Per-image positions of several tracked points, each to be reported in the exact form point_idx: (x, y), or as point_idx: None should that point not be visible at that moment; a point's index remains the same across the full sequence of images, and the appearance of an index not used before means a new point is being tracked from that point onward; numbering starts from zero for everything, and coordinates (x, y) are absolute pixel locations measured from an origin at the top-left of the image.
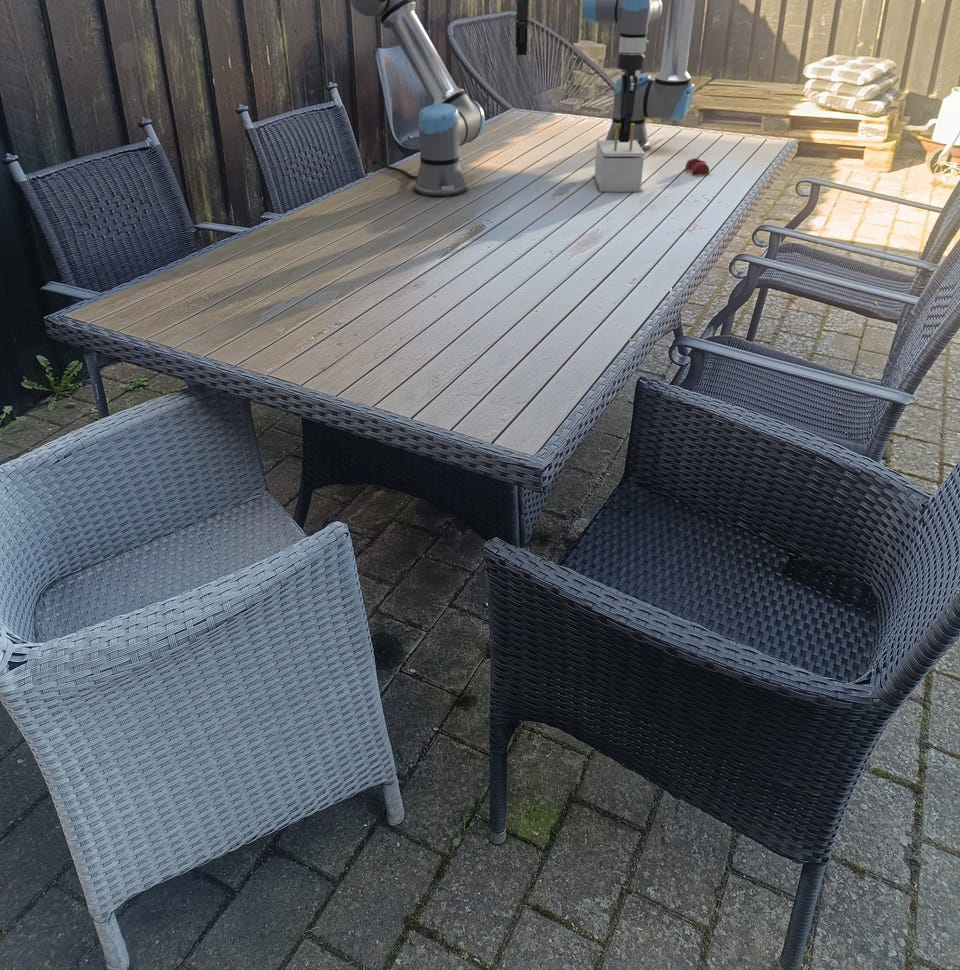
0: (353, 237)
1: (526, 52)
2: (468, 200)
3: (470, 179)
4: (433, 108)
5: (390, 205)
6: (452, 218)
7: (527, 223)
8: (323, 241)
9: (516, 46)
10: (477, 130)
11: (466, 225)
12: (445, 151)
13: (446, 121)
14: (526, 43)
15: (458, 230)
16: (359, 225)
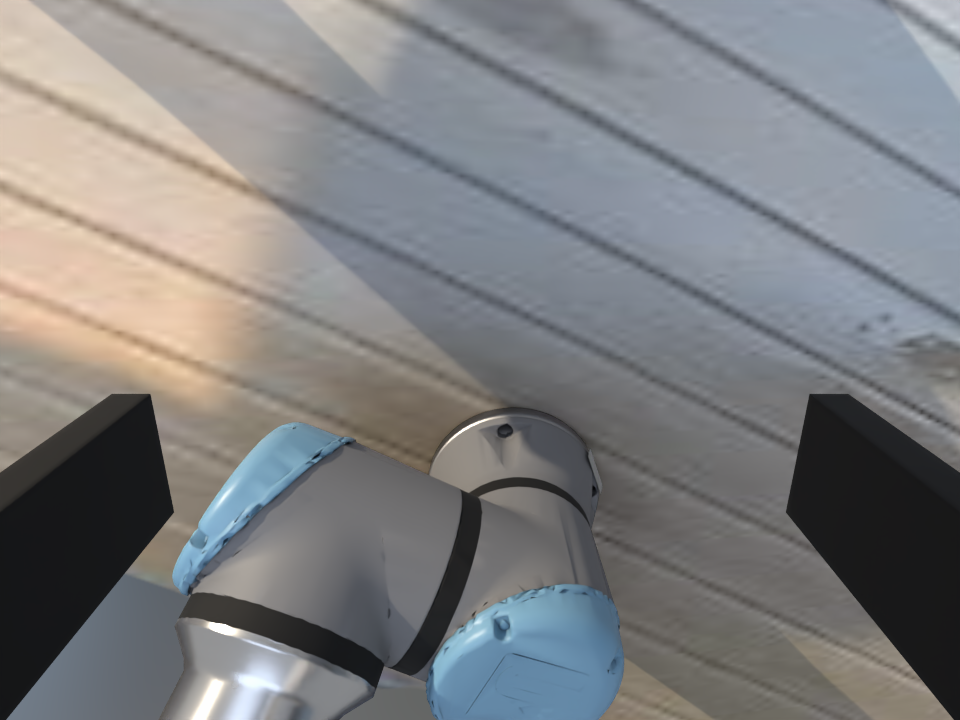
0: None
1: (868, 410)
2: (637, 393)
3: (386, 391)
4: (505, 718)
5: (666, 604)
6: None
7: (922, 192)
8: (935, 714)
9: (165, 507)
10: (365, 451)
11: (895, 394)
12: (596, 551)
13: (617, 633)
14: (953, 476)
15: (936, 415)
16: (831, 657)
